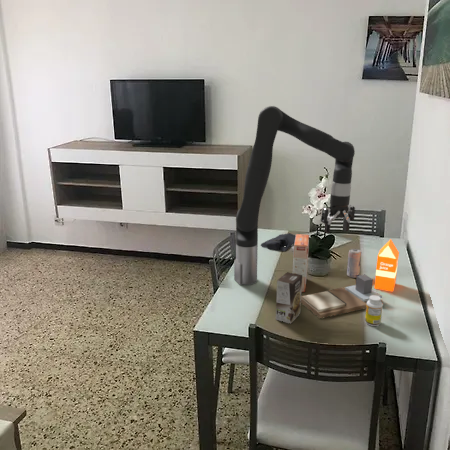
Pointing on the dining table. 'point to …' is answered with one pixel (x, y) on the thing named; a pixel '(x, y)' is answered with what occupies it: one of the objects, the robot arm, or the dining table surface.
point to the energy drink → (354, 263)
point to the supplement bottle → (373, 311)
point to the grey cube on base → (363, 288)
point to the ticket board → (332, 302)
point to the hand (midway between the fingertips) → (336, 231)
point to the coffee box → (288, 297)
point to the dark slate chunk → (280, 242)
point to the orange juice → (386, 267)
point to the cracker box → (301, 257)
